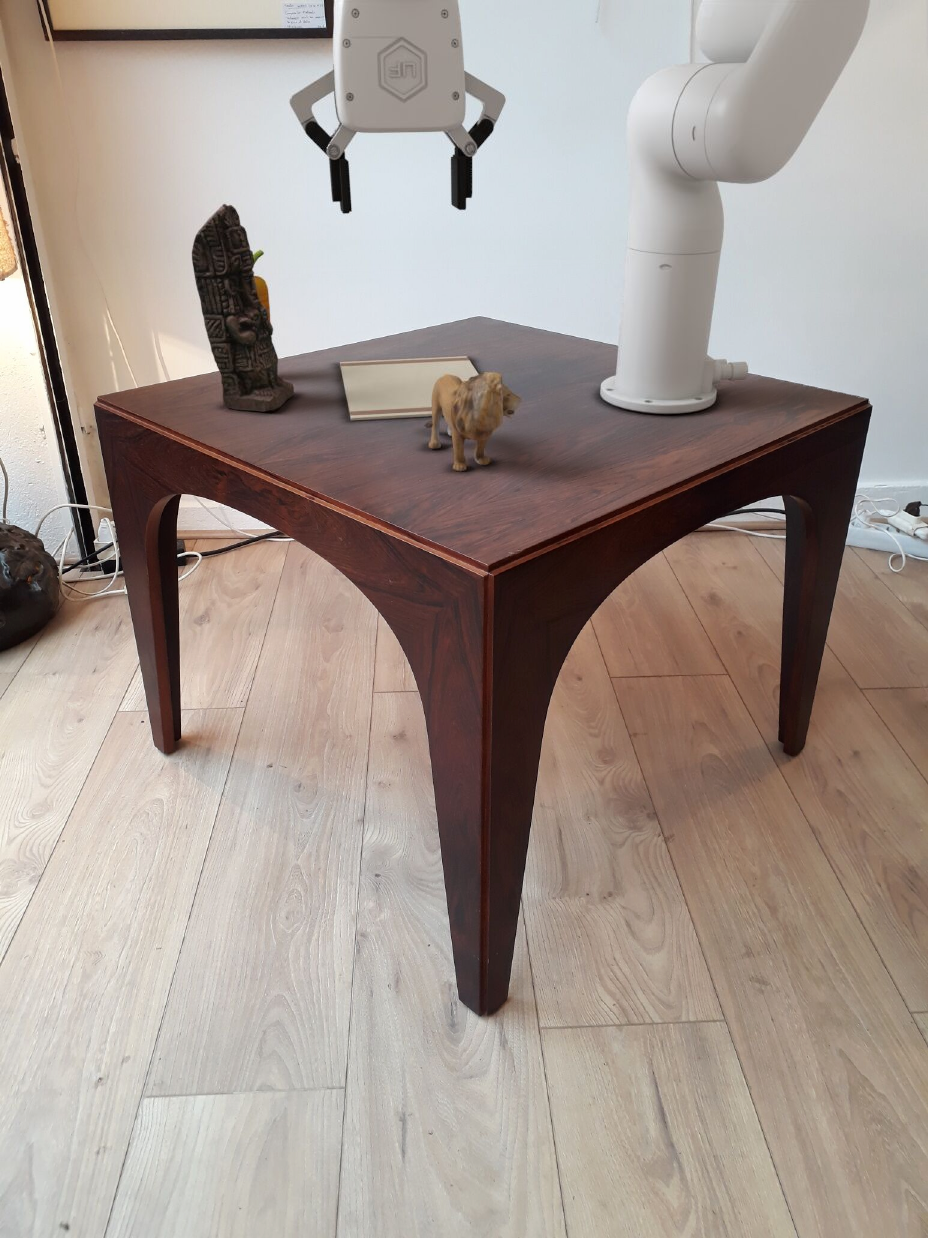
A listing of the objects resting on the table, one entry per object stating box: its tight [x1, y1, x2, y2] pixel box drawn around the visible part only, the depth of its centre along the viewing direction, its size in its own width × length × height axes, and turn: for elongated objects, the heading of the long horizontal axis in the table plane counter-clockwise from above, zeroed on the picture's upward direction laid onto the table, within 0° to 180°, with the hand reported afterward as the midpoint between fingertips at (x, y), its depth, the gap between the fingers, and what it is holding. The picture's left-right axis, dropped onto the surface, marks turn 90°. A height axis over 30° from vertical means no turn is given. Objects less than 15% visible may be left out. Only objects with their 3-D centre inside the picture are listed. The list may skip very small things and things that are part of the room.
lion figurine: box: [423, 371, 522, 472], centre depth 83 cm, size 15×5×9 cm, turn 29°
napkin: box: [339, 355, 480, 422], centre depth 105 cm, size 16×22×1 cm
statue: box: [191, 203, 295, 412], centre depth 94 cm, size 7×7×20 cm
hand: (402, 209), depth 77 cm, fingers open, 9 cm apart
